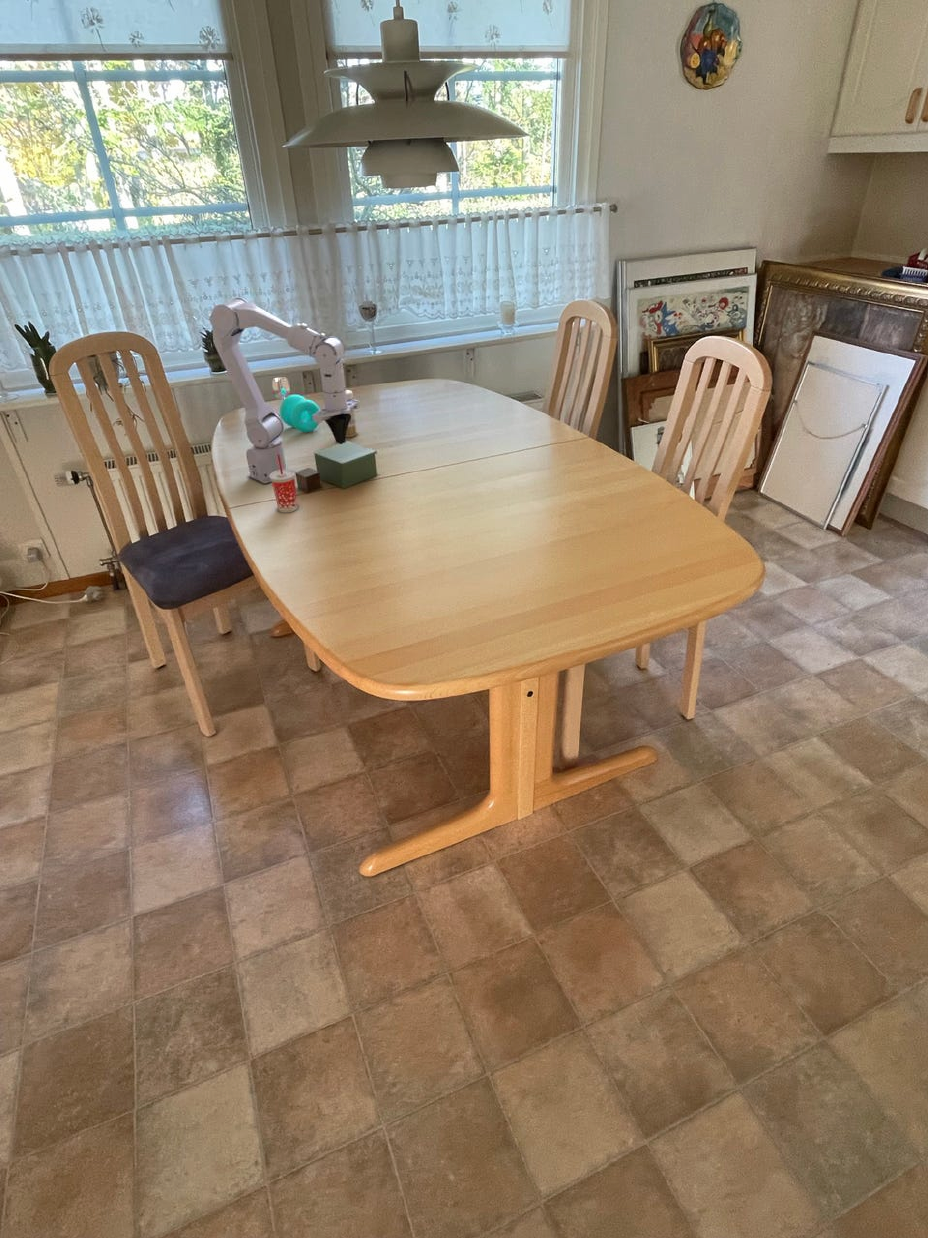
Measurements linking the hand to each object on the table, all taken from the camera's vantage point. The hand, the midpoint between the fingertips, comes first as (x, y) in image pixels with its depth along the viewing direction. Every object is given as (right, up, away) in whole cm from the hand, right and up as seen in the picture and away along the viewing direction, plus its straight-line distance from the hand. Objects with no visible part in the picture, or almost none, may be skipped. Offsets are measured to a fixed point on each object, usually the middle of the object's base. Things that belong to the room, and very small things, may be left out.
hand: (340, 442), depth 181 cm
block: (-9, -11, +2) cm, 14 cm away
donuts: (-19, +14, +40) cm, 46 cm away
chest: (0, -7, +8) cm, 11 cm away
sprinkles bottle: (-3, +11, +34) cm, 36 cm away
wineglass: (-27, +22, +51) cm, 61 cm away
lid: (+1, -2, +4) cm, 5 cm away
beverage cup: (-12, -19, -8) cm, 23 cm away
